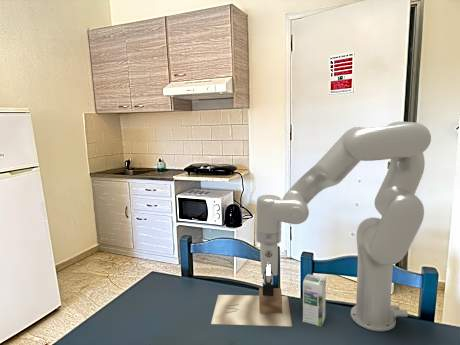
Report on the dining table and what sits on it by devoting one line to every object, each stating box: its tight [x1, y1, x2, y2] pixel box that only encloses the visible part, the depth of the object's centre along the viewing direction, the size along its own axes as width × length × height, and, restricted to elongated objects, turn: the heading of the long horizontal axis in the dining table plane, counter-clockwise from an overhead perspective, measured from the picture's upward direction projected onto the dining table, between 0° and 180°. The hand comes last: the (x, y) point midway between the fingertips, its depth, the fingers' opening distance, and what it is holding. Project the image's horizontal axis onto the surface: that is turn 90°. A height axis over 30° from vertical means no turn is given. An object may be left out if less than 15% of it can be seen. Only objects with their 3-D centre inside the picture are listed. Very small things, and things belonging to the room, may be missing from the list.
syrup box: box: [302, 273, 327, 328], centre depth 96 cm, size 6×6×14 cm
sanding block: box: [258, 287, 283, 315], centre depth 102 cm, size 7×5×6 cm
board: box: [210, 294, 293, 327], centre depth 103 cm, size 24×16×2 cm, turn 84°
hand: (267, 287), depth 101 cm, fingers open, 9 cm apart
